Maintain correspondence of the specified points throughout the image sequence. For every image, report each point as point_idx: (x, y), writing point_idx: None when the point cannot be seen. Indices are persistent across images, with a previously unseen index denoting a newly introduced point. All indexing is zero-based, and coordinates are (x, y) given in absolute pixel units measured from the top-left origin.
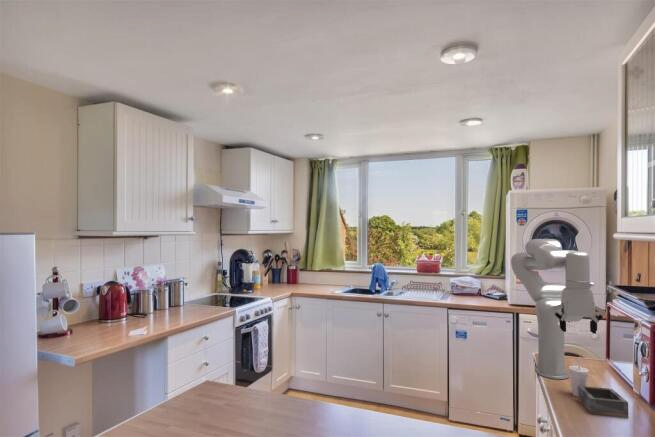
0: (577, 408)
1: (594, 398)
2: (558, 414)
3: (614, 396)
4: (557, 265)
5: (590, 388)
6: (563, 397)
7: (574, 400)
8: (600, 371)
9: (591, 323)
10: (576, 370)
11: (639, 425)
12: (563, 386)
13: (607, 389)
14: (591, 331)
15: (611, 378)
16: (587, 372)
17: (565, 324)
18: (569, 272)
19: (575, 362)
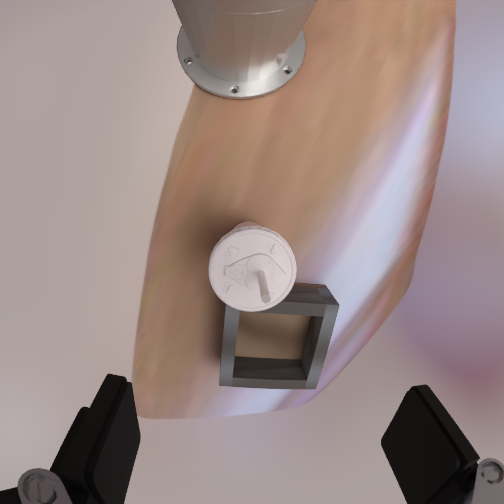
0: (197, 332)
1: (230, 382)
2: (136, 365)
3: (315, 340)
4: None
5: (262, 312)
6: (185, 264)
7: None
8: (426, 34)
9: (432, 474)
10: (232, 294)
11: None
12: (228, 164)
13: (318, 313)
14: (399, 414)
15: (433, 88)
16: (277, 299)
17: (118, 497)
18: None
19: None
